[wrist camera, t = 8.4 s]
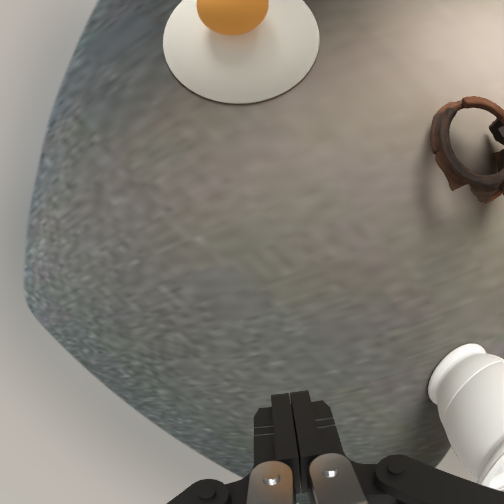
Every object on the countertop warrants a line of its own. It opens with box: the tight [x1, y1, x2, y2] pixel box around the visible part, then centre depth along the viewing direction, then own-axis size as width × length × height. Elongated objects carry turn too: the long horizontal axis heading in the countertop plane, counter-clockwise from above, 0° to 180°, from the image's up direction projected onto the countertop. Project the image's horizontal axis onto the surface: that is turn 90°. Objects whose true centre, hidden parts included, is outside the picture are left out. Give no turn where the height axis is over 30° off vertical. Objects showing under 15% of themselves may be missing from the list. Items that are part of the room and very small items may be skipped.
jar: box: [428, 344, 504, 491], centre depth 21 cm, size 11×10×15 cm
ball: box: [196, 0, 269, 35], centre depth 19 cm, size 6×6×6 cm
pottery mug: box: [431, 96, 504, 203], centre depth 21 cm, size 12×9×8 cm
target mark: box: [163, 0, 319, 104], centre depth 22 cm, size 13×13×1 cm
